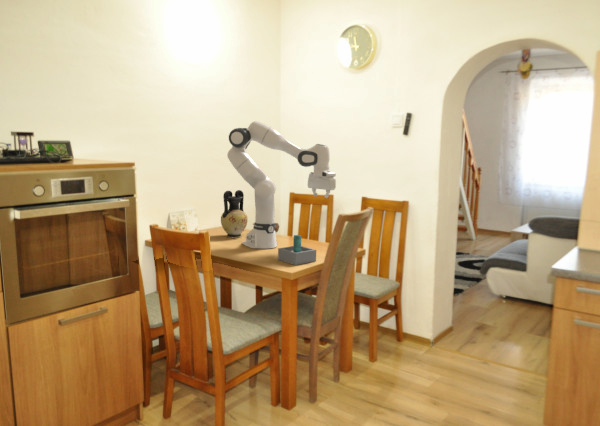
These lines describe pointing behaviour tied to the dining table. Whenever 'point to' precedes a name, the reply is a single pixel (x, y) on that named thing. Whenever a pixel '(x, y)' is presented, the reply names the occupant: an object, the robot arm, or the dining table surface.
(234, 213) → the amphora
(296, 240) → the peg
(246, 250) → the dining table surface
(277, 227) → the lion figurine
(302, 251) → the box
